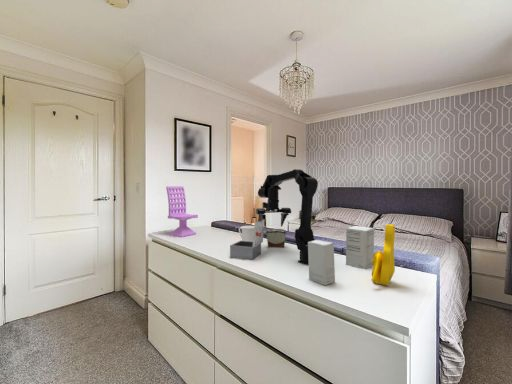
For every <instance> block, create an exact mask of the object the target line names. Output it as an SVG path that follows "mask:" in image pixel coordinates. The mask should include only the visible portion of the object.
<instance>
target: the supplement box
mask: <svg viewBox="0 0 512 384" xmlns="http://www.w3.org/2000/svg"><path fill="white" fill-rule="evenodd" d="M345 230H346V232H345V264H346V265H348V266H350V267H355V268H359V269H363V270H367V269H368V268H370V267H373V263H372V258H374V254H375V251H374V250H375V227H368V226H360V225H354V226H350V227H346V228H345Z"/></svg>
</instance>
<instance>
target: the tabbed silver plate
mask: <svg viewBox="0 0 512 384" xmlns="http://www.w3.org/2000/svg"><path fill="white" fill-rule="evenodd" d="M262 215H263V214H259V215H258V216H257V217H258V219H257V221H254V224H253V226H254V236H253V247H256V246H257V245H259V244H260V243H261V244H262V243H263V242H264V233H265V231H264V230H265V226H264V222H265V219H262Z"/></svg>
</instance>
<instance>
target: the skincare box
mask: <svg viewBox="0 0 512 384" xmlns="http://www.w3.org/2000/svg"><path fill="white" fill-rule="evenodd" d="M334 245H335V243H334V242H331V241H327V240H326V241H325V240H320V239H315V240H314V241H310V242H308V245H307V246H308V261H309V265H308V279H309V280H310V281H313V282H315V283H318V284H321V285H324V286H327V285H331V284H333V283H335V282H336V275H335V273H336V271H335V268H336V267H335V247H334Z"/></svg>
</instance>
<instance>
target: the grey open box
mask: <svg viewBox="0 0 512 384" xmlns="http://www.w3.org/2000/svg"><path fill="white" fill-rule="evenodd" d="M229 249H230V250H229V251H230V252H229V258H230V259H239V260H249V261H254V260H255V259H256V258H257V257H259V256H260V255H262V243H260V244H259V245H257V246H256V247H253V242H250V241H242V240H239V241H237V242H234V243H232V244H230V245H229Z"/></svg>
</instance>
